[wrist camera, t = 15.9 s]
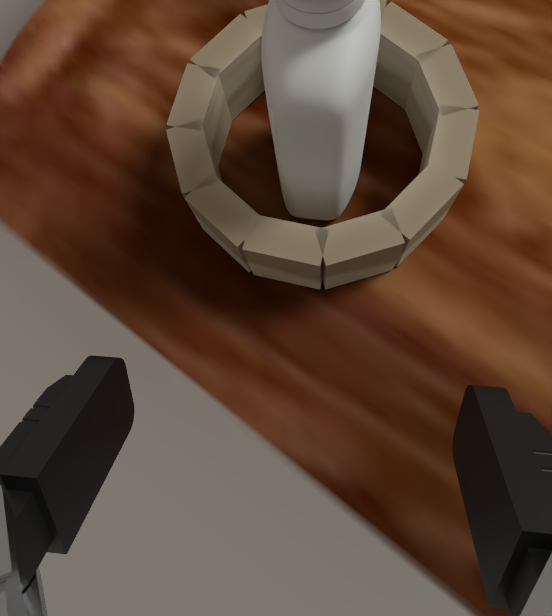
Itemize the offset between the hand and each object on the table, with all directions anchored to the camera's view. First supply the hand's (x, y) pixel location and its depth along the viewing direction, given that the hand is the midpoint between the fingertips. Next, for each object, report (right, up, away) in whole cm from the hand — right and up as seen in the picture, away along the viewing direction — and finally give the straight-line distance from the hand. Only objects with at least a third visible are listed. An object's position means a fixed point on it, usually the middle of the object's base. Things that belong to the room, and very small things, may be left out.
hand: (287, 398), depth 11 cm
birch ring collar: (+2, +9, +10) cm, 13 cm away
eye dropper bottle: (+2, +8, +10) cm, 13 cm away
